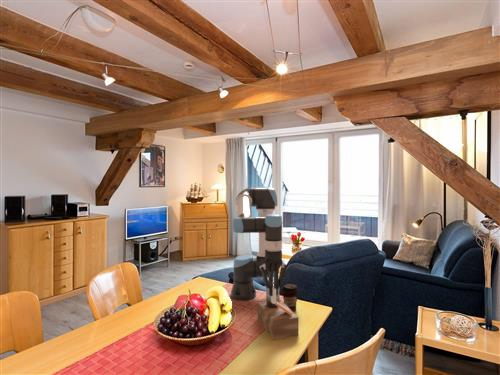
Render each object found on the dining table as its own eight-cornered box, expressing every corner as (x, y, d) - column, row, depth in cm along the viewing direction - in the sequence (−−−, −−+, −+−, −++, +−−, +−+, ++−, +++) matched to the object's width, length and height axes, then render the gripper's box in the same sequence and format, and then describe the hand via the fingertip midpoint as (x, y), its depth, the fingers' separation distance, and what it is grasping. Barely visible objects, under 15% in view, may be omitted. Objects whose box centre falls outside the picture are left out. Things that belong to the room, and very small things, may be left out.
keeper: (272, 301, 126) (273, 299, 126) (286, 311, 128) (287, 309, 128) (276, 305, 121) (277, 303, 121) (291, 315, 123) (292, 313, 124)
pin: (264, 313, 137) (264, 282, 137) (276, 311, 139) (276, 281, 139) (269, 319, 131) (269, 287, 131) (281, 317, 133) (281, 286, 133)
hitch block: (258, 318, 138) (257, 302, 138) (280, 314, 141) (280, 299, 141) (273, 340, 119) (273, 321, 119) (298, 335, 122) (298, 317, 122)
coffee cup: (299, 314, 142) (299, 289, 142) (283, 314, 142) (283, 289, 142) (297, 306, 151) (296, 283, 150) (281, 306, 151) (281, 283, 151)
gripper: (262, 252, 118) (262, 308, 118) (290, 250, 122) (290, 304, 122) (256, 248, 125) (256, 301, 125) (283, 246, 129) (283, 297, 129)
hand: (273, 302), depth 123 cm, fingers closed
